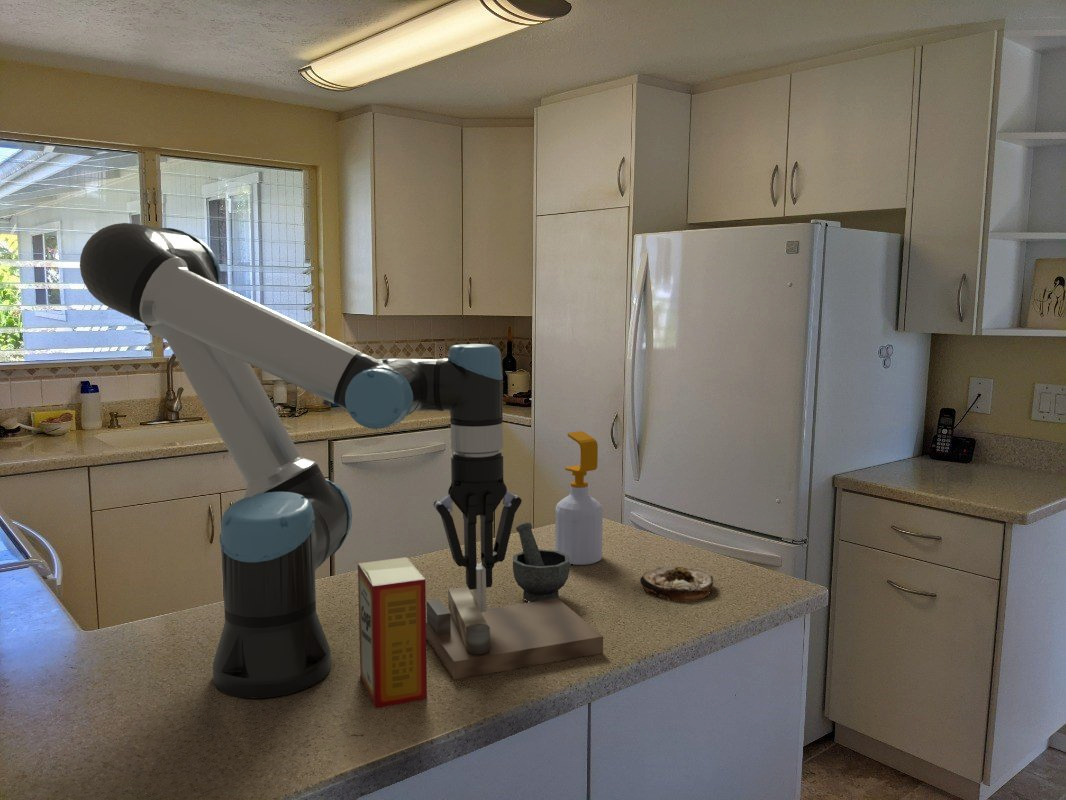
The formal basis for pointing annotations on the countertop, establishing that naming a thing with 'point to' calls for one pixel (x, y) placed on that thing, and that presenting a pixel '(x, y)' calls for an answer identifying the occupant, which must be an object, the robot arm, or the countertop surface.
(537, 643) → the stool seat
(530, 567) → the mortar and pestle
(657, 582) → the sushi roll
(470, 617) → the hinged leg
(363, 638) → the baking soda box
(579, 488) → the soap bottle
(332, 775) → the countertop surface
